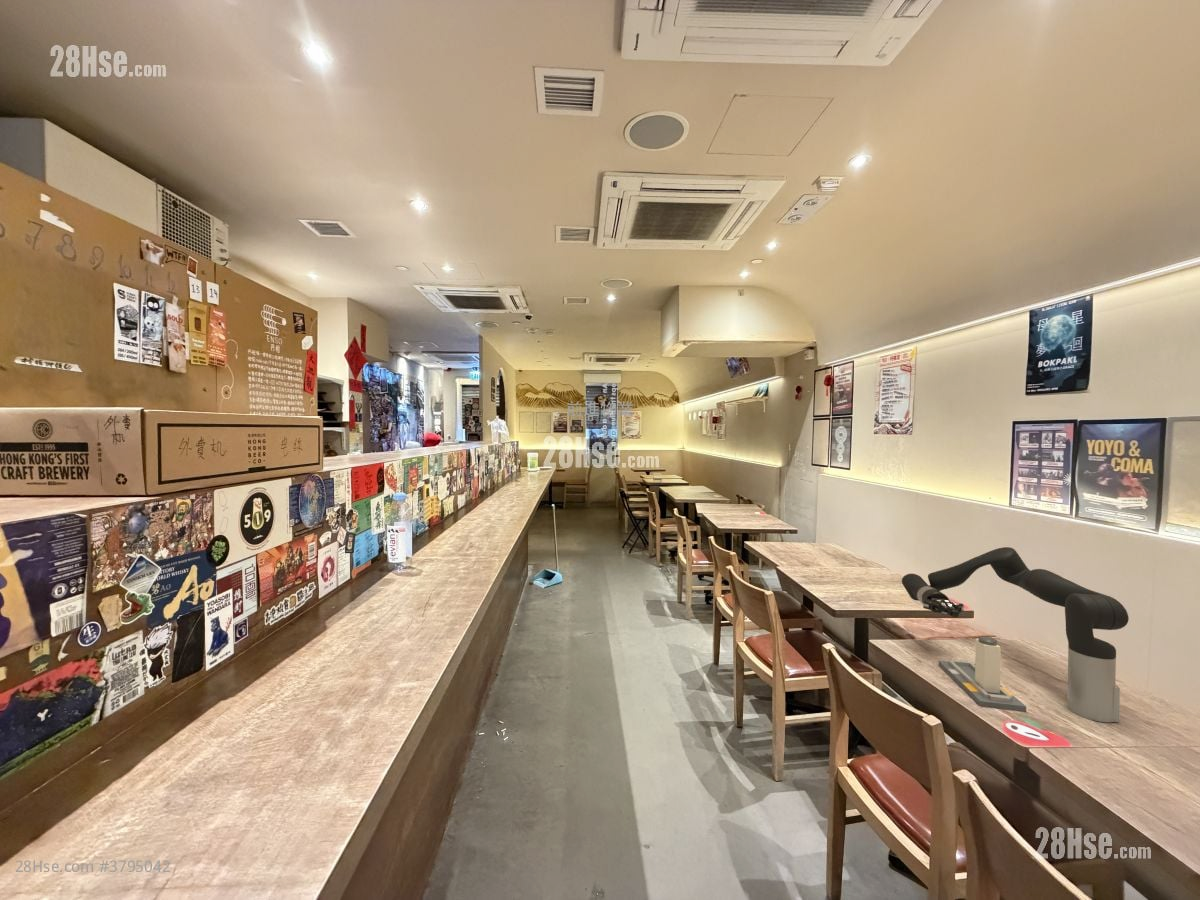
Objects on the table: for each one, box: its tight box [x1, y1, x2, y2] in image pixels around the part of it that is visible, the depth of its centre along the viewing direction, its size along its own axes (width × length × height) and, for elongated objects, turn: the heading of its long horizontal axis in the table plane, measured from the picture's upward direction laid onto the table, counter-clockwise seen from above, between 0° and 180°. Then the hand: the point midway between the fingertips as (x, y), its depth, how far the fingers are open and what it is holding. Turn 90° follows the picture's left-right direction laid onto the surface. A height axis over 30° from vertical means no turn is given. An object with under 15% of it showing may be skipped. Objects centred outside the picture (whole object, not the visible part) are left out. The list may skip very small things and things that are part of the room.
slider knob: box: [974, 635, 1002, 694], centre depth 140 cm, size 5×4×15 cm
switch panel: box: [938, 659, 1027, 713], centre depth 145 cm, size 26×11×3 cm, turn 166°
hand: (955, 614), depth 157 cm, fingers closed
